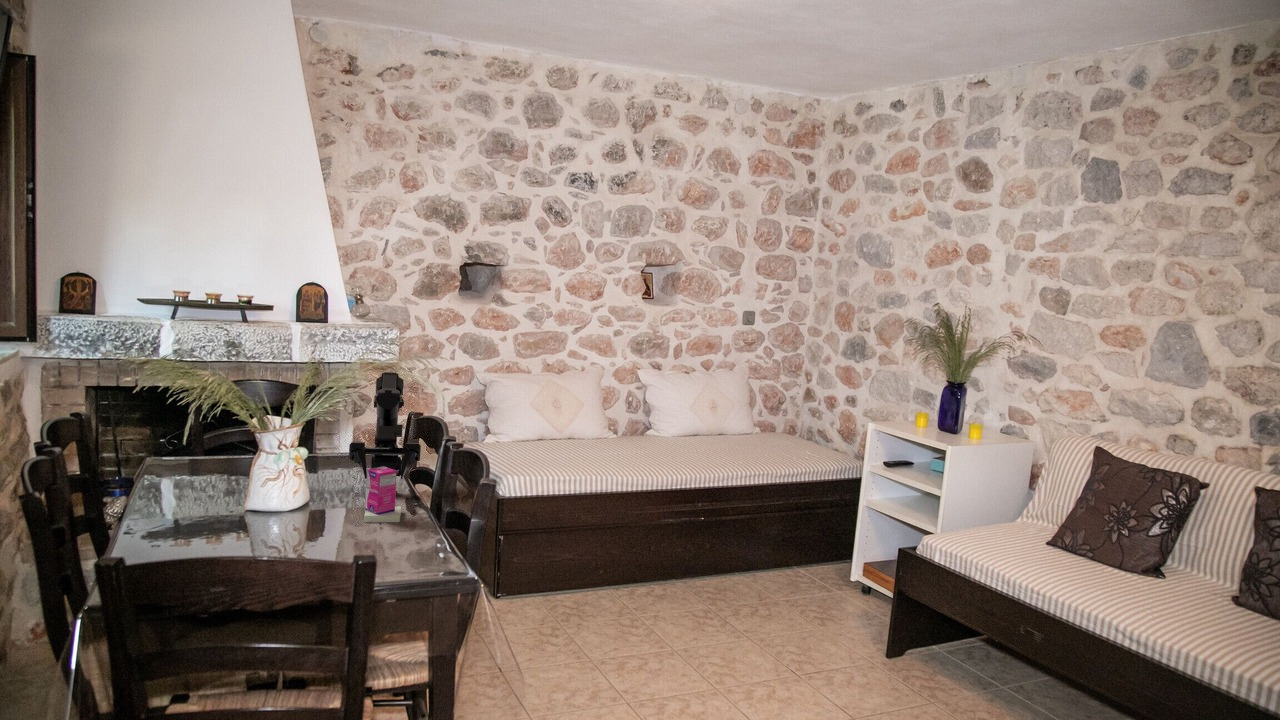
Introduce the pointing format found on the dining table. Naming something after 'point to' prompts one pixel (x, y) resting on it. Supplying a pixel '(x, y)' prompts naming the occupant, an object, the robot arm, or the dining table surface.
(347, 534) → the dining table surface
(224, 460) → the dining table surface
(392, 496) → the supplement box
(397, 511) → the tower top block
